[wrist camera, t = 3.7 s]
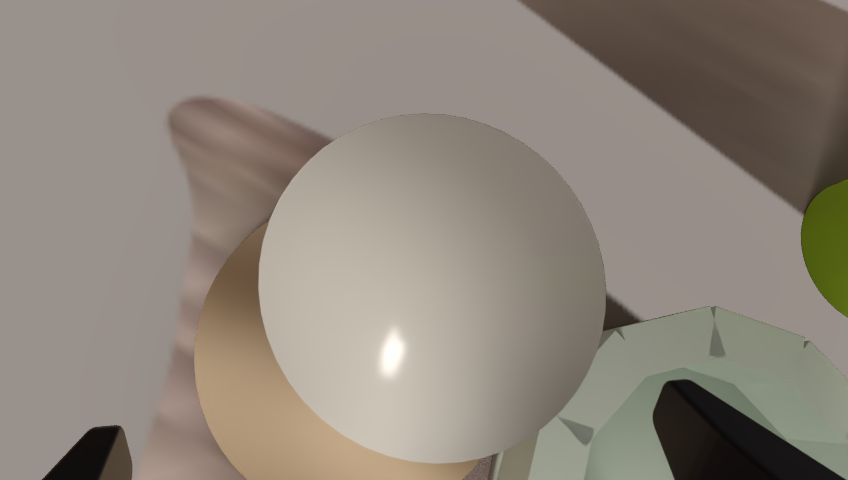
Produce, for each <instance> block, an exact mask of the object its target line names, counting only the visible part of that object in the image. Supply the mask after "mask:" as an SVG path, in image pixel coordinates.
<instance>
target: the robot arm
mask: <svg viewBox="0 0 848 480" xmlns="http://www.w3.org/2000/svg"><path fill="white" fill-rule="evenodd" d="M653 425H654V428H655V430H656V433H657V436H658V438H659V441H660V443H661V446H662V449H663V451H664V454H665V456H666V459H667V462H668V464H669V467H670V469H671V472H672V475H673V477H674V480H846V479H844V478H843V477H841V476H840V475H838V474H837V473H835V472H834V471H832V470H830V469H829V468H827V467H826V466H824V465H823V464H821V463H819V462H818V461H816V460H815V459H813V458H812V457H810V456H809V455H807V454H805V453H804V452H802V451H801V450H799V449H798V448H796V447H795V446H793V445H791V444H790V443H788V442H787V441H785V440H784V439H782V438H781V437H779V436H777V435H776V434H774V433H773V432H771V431H770V430H768V429H767V428H765V427H763V426H762V425H760V424H759V423H757V422H756V421H754V420H752V419H751V418H749V417H748V416H746V415H745V414H743V413H742V412H740V411H738V410H737V409H735V408H734V407H732V406H731V405H729V404H728V403H726V402H724V401H723V400H721V399H720V398H718V397H717V396H715V395H714V394H712V393H710V392H709V391H707V390H706V389H704V388H703V387H701V386H699V385H698V384H696V383H695V382H693V381H691V380H688V379H679V380H669V381H667V382H666V383H665V384H664V385H663V387H662V390H661V392H660V395H659V397H658V400H657V403H656V405H655V408H654V410H653ZM131 479H132V461H131V456H130V452H129V448H128V445H127V441H126V437H125V433H124V430H123V429H122V427H121V426H117V425H114V426H101V427H94V428H92V429H90V430H89V431H88V432H87V433H85V434H84V436H83V437H82V438H81V439H80V440H79V441H78V442H77V443H76V444H75V445H74V446H73V447H72V448H71V449H70V450H69V452H68V453H67V454H66V455H65V456H64V457H63V458H62V459H61V460H60V461H59V462H58V463H57V464H56V465H55V466H54V468H53V469H52V470H51V471H50V472H49V473H48V474H47V475H46V476H45V477H44V478H43V479H42V480H131Z"/></svg>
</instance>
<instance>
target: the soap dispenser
mask: <svg viewBox="0 0 848 480" xmlns="http://www.w3.org/2000/svg"><path fill="white" fill-rule="evenodd" d="M801 246H802V252H803V257H804V261H805V264H806V267H807V269H808V272H809V274H810V276H811V278H812V280H813V282H814V284H815V285H816V287H817V288H818V290H819V291H820V293H821V294H822V295H823V296H824V298H825V299H827V301H828V302H829V303H830V304H831V305H832V306H833V307H834V308H835V309H837V310H838V311H839V312H840V313H842V314H843V315H845V316H846V317H848V179H847V180H844V181H842V182H839V183H837V184H834V185H832V186H830V187H828V188H826V189H824V190H823V191H821V192H820V193H819V194H818V195H817V196H816V197H815V198H814V199H813V200H812V202H811V203H810V205H809V206H808V208H807V210H806V213H805V215H804V218H803V222H802V228H801Z"/></svg>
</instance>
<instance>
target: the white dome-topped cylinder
mask: <svg viewBox="0 0 848 480" xmlns="http://www.w3.org/2000/svg"><path fill="white" fill-rule="evenodd" d="M258 290H259V300H260V309H261V315H262V319H263V323H264V327H265V331H266V335H267V338H268V341H269V343H270V346H271V348H272V351H273V353H274V356H275V358H276V361H277V362H278V364H279V366H280V368H281V369H282V371H283V373H284V375H285V376H286V378H287V380H288V382H289V383H290V384H291V386H292V387H293V388H294V390H295V391H296V392H297V393H298V395H299V396H300V397H301V399H302V400H303V401H304V402H305V403H306V404H307V405H308V406H309V407H310V408H311V409H312V410H313V411H314V412H315V413H316V414H317V415H318V416H319V417H320V418H321V419H322V420H323V421H324V422H326V423H327V424H328V425H330V426H331V427H332V428H334V429H335V430H336V431H338V432H339V433H340V434H342V435H343V436H345V437H347V438H349V439H351V440H352V441H354V442H356V443H358V444H360V445H361V446H363V447H365V448H368V449H371V450H373V451H376V452H378V453H381V454H384V455H386V456H389V457H394V458H398V459H403V460H407V461H411V462H422V463H434V464H441V463H458V462H465V461H470V460H475V459H480V458H485V457H488V456H490V455H493V454H496V453H499V452H502V451H504V450H507V449H509V448H511V447H513V446H515V445H517V444H518V443H520V442H522V441H524V440H526V439H528V438H529V437H531V436H532V435H533V434H535V433H536V432H538V431H539V430H540V429H542V428H543V427H544V426H546V425H547V424H548V423H549V422H550V421H551V420H552V419H553V418H554V417H555V416H556V415H557V414H558V413H560V412H561V411H562V410H563V408H564V407H565V406H566V405H567V403H568V402H569V401H570V400H571V398H572V397H573V396H574V395H575V393H576V392H577V390H578V389H579V387H580V385H581V384H582V382H583V380H584V378H585V377H586V375H587V373H588V371H589V369H590V367H591V364H592V362H593V360H594V357H595V355H596V352H597V349H598V346H599V342H600V338H601V335H602V331H603V324H604V317H605V310H606V283H605V275H604V265H603V261H602V257H601V252H600V248H599V244H598V241H597V238H596V236H595V233H594V230H593V227H592V225H591V223H590V221H589V219H588V217H587V215H586V213H585V211H584V209H583V207H582V205H581V203H580V202H579V200H578V199H577V197H576V196H575V194H574V193H573V191H572V190H571V188H570V187H569V186H568V184H567V183H566V182H565V181H564V179H563V178H562V177H561V176H560V175H559V174H558V172H557V171H556V170H555V169H554V168H553V167H552V166H551V165H550V164H549V163H547V162H546V161H545V160H544V159H543V158H542V157H541V156H540V155H539V154H537V153H536V152H534V151H533V150H532V149H531V148H529V147H528V146H527V145H525V144H524V143H522V142H520V141H519V140H517V139H515V138H514V137H511V136H510V135H508V134H507V133H505V132H503V131H500V130H498V129H495V128H493V127H491V126H489V125H486V124H483V123H480V122H476V121H473V120H470V119H467V118H462V117H456V116H450V115H443V114H410V115H400V116H395V117H390V118H385V119H381V120H378V121H375V122H372V123H369V124H366V125H363V126H360V127H358V128H356V129H354V130H352V131H350V132H348V133H346V134H344V135H342V136H340V137H339V138H337V139H336V140H334V141H333V142H331V143H330V144H328V145H327V146H325V147H324V148H323V149H321V150H320V151H319V152H318V153H317V154H316V155H315V156H313V157H312V158H311V159H310V160H309V161H308V162H307V163H306V164H305V165H304V166H303V167H302V168H301V170H300V171H299V172H298V173H297V174H296V175H295V177H294V178H293V179H292V180H291V182H290V183H289V185H288V186H287V188H286V189H285V191H284V192H283V194H282V196H281V197H280V199H279V201H278V203H277V205H276V207H275V209H274V211H273V214H272V216H271V218H270V220H269V224H268V227H267V230H266V233H265V236H264V239H263V244H262V250H261V256H260V262H259V282H258Z"/></svg>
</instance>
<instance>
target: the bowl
mask: <svg viewBox="0 0 848 480" xmlns="http://www.w3.org/2000/svg"><path fill="white" fill-rule="evenodd" d="M804 338H805V337H803V336H800V335H797V334H794V333H791V332H789V331H785V330H782V329H780V328H777V327H774V326H771V325H768V324H766V323H763V322H760V321H757V320H754V319H751V318H748V317H745V316H742V315H740V314H737V313H734V312H731V311H728V310H725V309H722V308H719V307H711V308H710V306H708V307H704V308H699V309H694V310H690V311H686V312H681V313H677V314H672V315H668V316H663V317H659V318H655V319H651V320H647V321H643V322H638V323H634V324H630V325H626V326H622V327H617V328H613V329H609V330H605V331H602V335H601V338H600V342H599V346H598V349H597V352H596V355H595V357H594V360H593V362H592V364H591V367H590V369H589V371H588V373H587V375H586V377H585V378H584V380H583V382H582V384H581V385H580V387H579V389H578V390H577V392H576V393H575V395H574V396H573V397H572V398H571V400H570V401H569V402H568V403H567V405H566V406H565V407H564V408H563V410H562V411H561V412H560V413H558V414H557V415H556V416H555V417H554V418H553V419H552V420H551V421H550V422H549V423H548V424H547V425H546V426H544V427H543V428H542V429H540V430H539V431H538V432H536V433H535V434H533V435H532V436H531V437H529V438H528V439H526V440H524V441H522V442H520V443H518V444H517V445H515V446H513V447H511V448H509V449H507V450H504V451H502V452H499V453H496V454H493V456H492V461H491V466H490V472H489V477H488V480H674V477H673V475H672V472H671V469H670V467H669V464H668V462H667V459H666V456H665V454H664V451H663V449H662V446H661V443H660V441H659V438H658V436H657V433H656V430H655V428H654V425H653V410H654V408H655V405H656V403H657V400H658V397H659V395H660V392H661V390H662V387H663V385H664V384H665V383H666V382H667V381H669V380H679V379H688V380H691V381H693V382H695V383H696V384H698V385H699V386H701V387H703V388H704V389H706V390H707V391H709V392H710V393H712V394H714V395H715V396H717V397H718V398H720V399H721V400H723V401H724V402H726V403H728V404H729V405H731V406H732V407H734V408H735V409H737V410H738V411H740V412H742V413H743V414H745V415H746V416H748V417H749V418H751V419H752V420H754V421H756V422H757V423H759V424H760V425H762V426H763V427H765V428H767V429H768V430H770V431H771V432H773V433H774V434H776V435H777V436H779V437H781V438H782V439H784V440H785V441H787V442H788V443H790V444H791V445H793V446H795V447H796V448H798V449H799V450H801V451H802V452H804V453H805V454H807V455H809V456H810V457H812V458H813V459H815V460H816V461H818V462H819V463H821V464H823V465H824V466H826V467H827V468H829V469H830V470H832V471H834V472H835V473H837V474H838V475H840V476H841V477H843V478H844V479H846V480H848V380H847V379H846V378H845V377H844V376H843V374H842V373H841V372H840V371H839V370H838V369H837V368H836V367H835V366H834V365H833V364H832V363H831V362H830V361H829V360H828V359H827V358H826V357H825V356H824V355H823V354H822V353H821V352H820V350H819V349H817V347H816V346H815V345H814V344H813V343H812V342H811V341H804Z"/></svg>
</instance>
